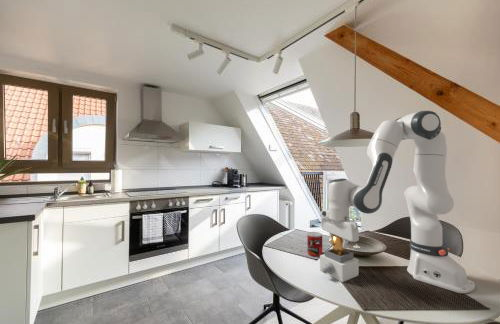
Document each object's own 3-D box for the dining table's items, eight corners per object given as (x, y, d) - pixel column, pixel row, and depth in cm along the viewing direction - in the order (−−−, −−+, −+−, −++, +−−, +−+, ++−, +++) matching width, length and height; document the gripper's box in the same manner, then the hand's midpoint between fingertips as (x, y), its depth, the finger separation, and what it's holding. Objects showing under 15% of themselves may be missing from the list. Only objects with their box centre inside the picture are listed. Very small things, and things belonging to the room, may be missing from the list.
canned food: (304, 254, 125) (304, 233, 125) (312, 249, 131) (311, 230, 131) (318, 258, 120) (317, 237, 120) (324, 253, 126) (324, 233, 126)
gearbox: (358, 275, 102) (358, 253, 102) (335, 284, 94) (335, 261, 94) (335, 264, 112) (335, 245, 112) (313, 272, 104) (313, 251, 104)
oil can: (339, 251, 107) (339, 234, 107) (347, 255, 102) (347, 237, 102) (325, 253, 104) (325, 236, 104) (333, 258, 100) (333, 239, 100)
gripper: (362, 219, 95) (362, 252, 95) (329, 209, 114) (329, 237, 114) (350, 220, 93) (350, 255, 93) (318, 210, 112) (318, 239, 112)
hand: (338, 245), depth 104 cm, fingers closed on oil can, 5 cm apart
